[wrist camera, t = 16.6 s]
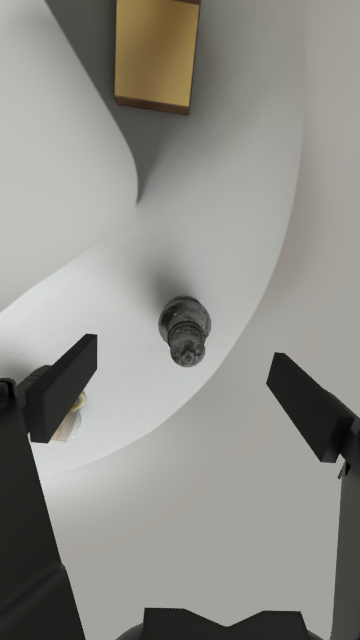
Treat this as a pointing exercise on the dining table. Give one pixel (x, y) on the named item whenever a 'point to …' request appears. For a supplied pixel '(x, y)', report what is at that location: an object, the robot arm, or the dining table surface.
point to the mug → (69, 423)
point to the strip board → (155, 53)
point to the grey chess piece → (185, 330)
